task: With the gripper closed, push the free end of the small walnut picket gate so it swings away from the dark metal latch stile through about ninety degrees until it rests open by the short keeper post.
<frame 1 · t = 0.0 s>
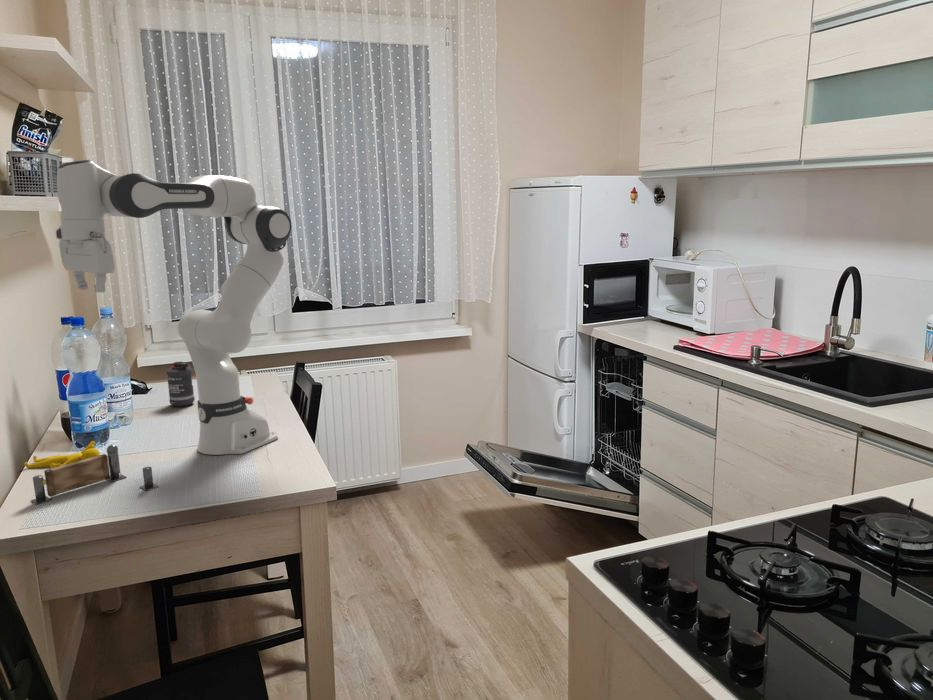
hand: (91, 290, 165), 48 cm above the table, fingers open, 8 cm apart
latch stile: (41, 500, 163), on the table
gate: (78, 474, 169), point 4 cm above the table, hinge at 0.0°
keeper post: (149, 487, 170), on the table
hinge post: (115, 478, 176), on the table
figurine: (65, 465, 186), on the table
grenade: (182, 405, 241), on the table
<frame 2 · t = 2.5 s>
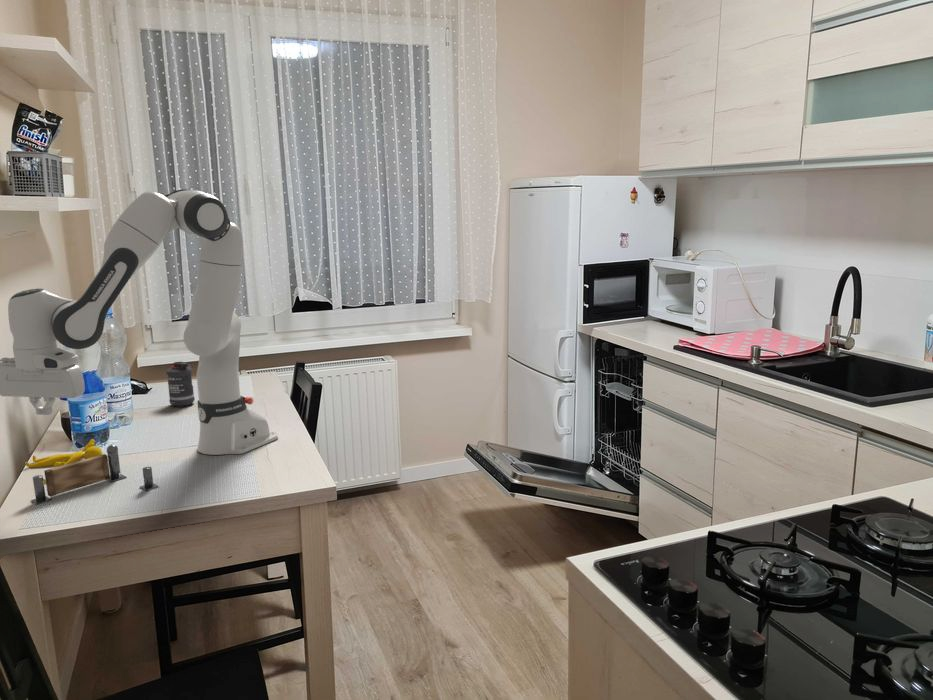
hand: (44, 414, 167), 19 cm above the table, fingers closed
figurine: (66, 464, 187), on the table
everything else where it was.
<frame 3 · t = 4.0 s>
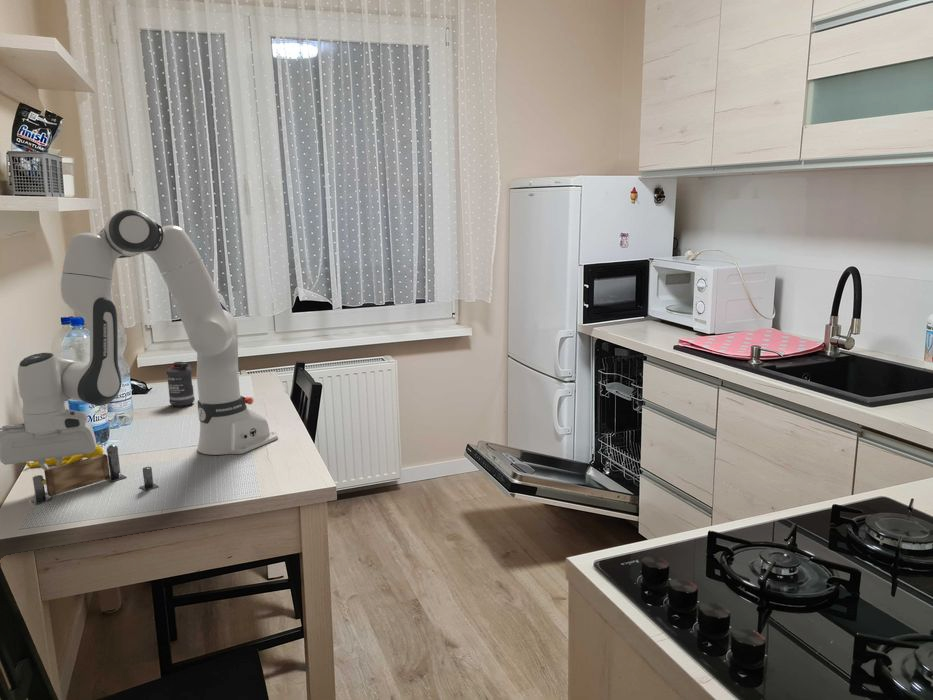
hand: (53, 474, 170), 3 cm above the table, fingers closed
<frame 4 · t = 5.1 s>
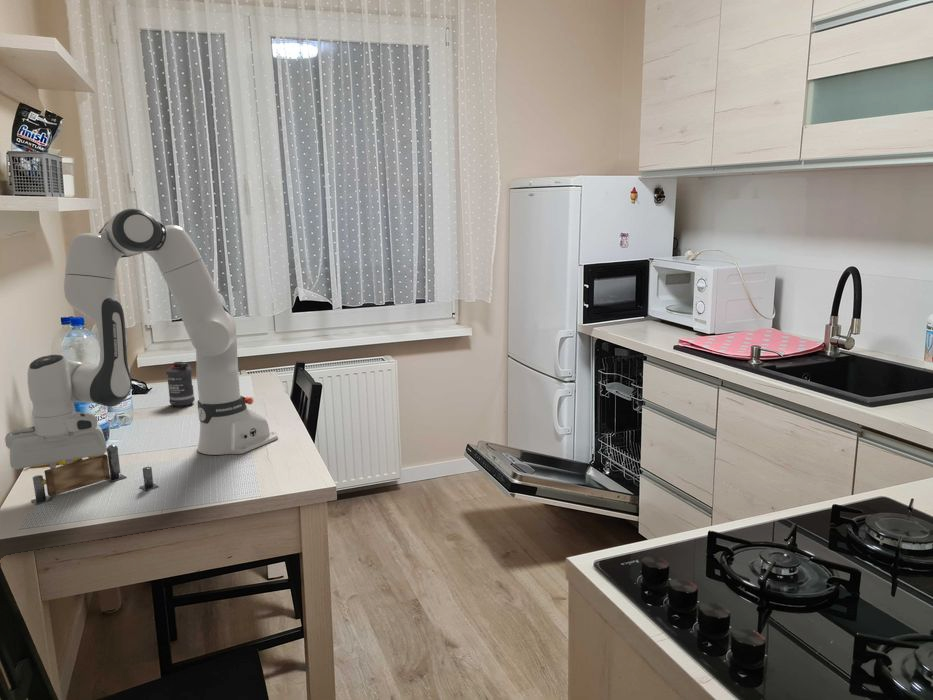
hand: (63, 477, 169), 3 cm above the table, fingers closed
gate: (78, 474, 169), point 4 cm above the table, hinge at 0.3°, touching gripper
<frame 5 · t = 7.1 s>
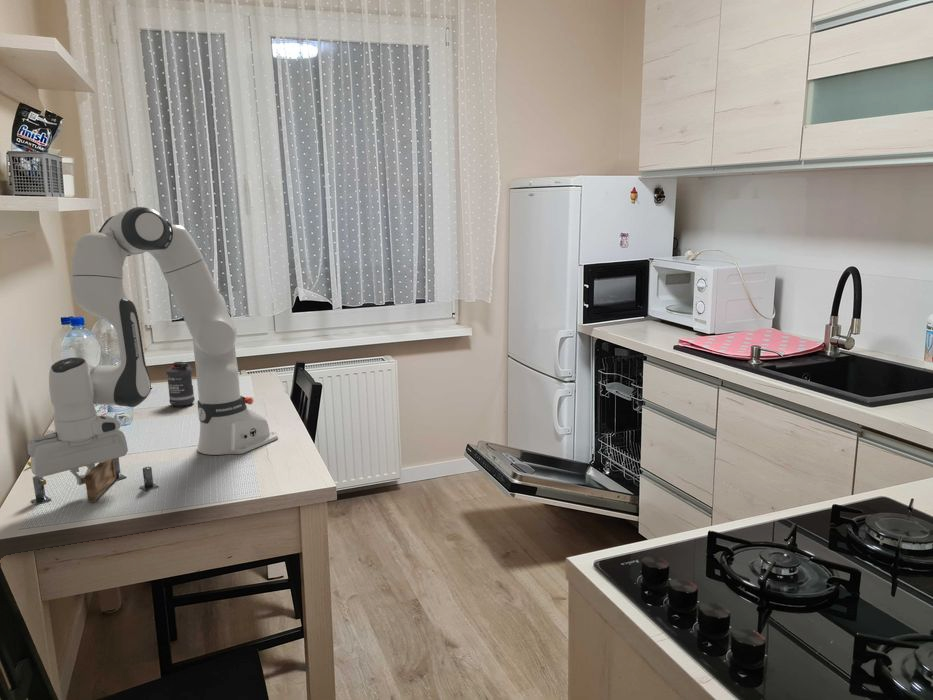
hand: (84, 483, 165), 3 cm above the table, fingers closed
gate: (101, 477, 167), point 4 cm above the table, hinge at 47.0°, touching gripper
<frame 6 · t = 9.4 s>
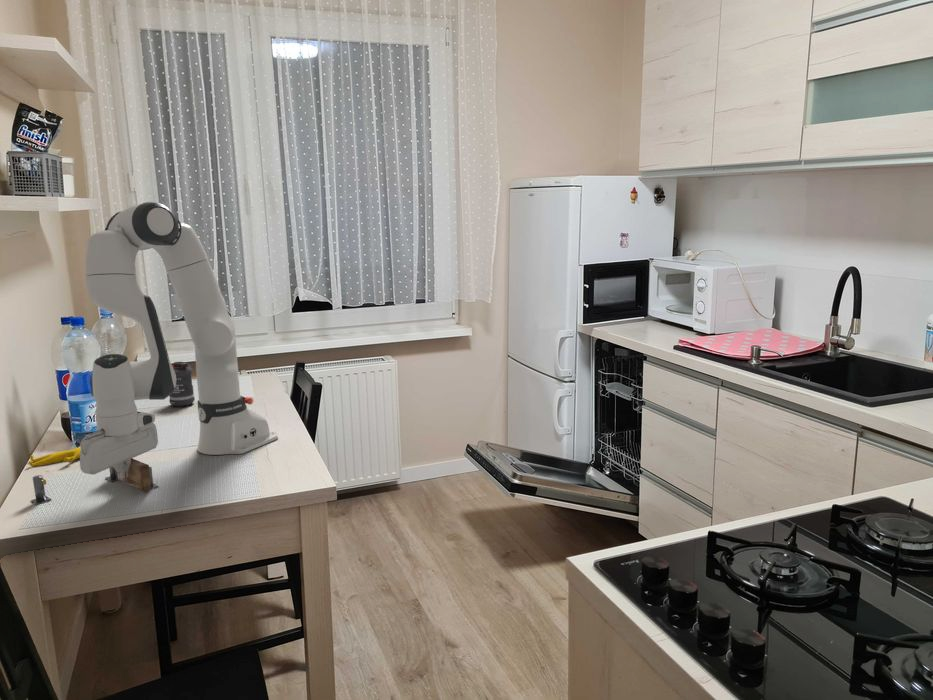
hand: (123, 478, 168), 3 cm above the table, fingers closed
gate: (131, 471, 170), point 4 cm above the table, hinge at 92.8°, touching gripper, keeper post
figurine: (68, 460, 190), on the table
everything else where it was.
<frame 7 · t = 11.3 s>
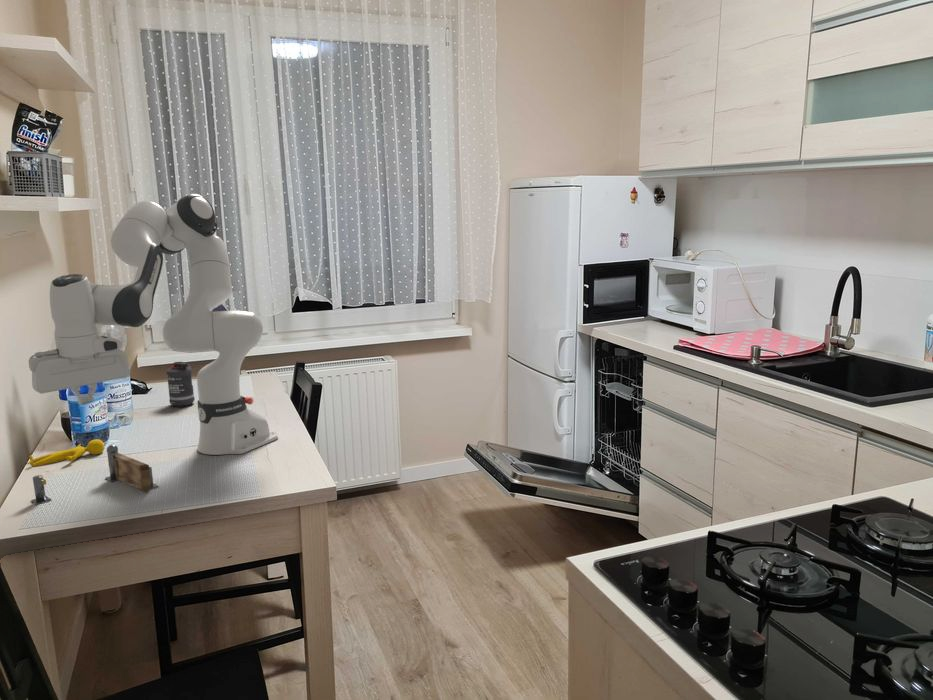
hand: (86, 402, 164), 22 cm above the table, fingers closed
gate: (131, 471, 170), point 4 cm above the table, hinge at 92.8°, touching keeper post
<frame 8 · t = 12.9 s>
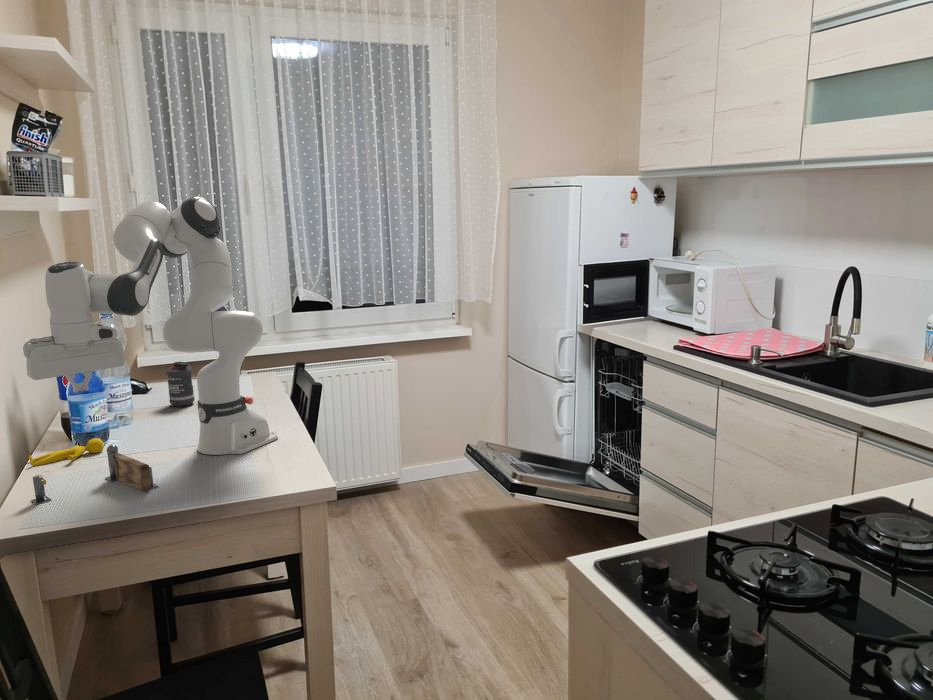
hand: (81, 391, 163), 25 cm above the table, fingers closed
at the end: gate at +93° (first picture: +0°) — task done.
